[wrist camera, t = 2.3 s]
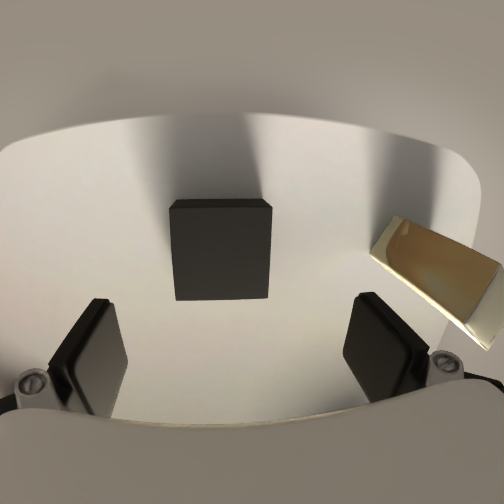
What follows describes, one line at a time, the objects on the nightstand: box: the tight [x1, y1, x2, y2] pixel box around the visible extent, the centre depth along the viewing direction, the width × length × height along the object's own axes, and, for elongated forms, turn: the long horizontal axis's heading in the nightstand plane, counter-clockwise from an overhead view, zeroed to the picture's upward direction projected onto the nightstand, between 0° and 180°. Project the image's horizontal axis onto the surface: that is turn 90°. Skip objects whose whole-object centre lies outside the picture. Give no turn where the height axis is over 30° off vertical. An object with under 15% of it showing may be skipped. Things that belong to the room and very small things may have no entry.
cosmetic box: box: [370, 216, 504, 351], centre depth 17 cm, size 6×4×12 cm
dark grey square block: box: [169, 199, 272, 301], centre depth 19 cm, size 6×6×3 cm
